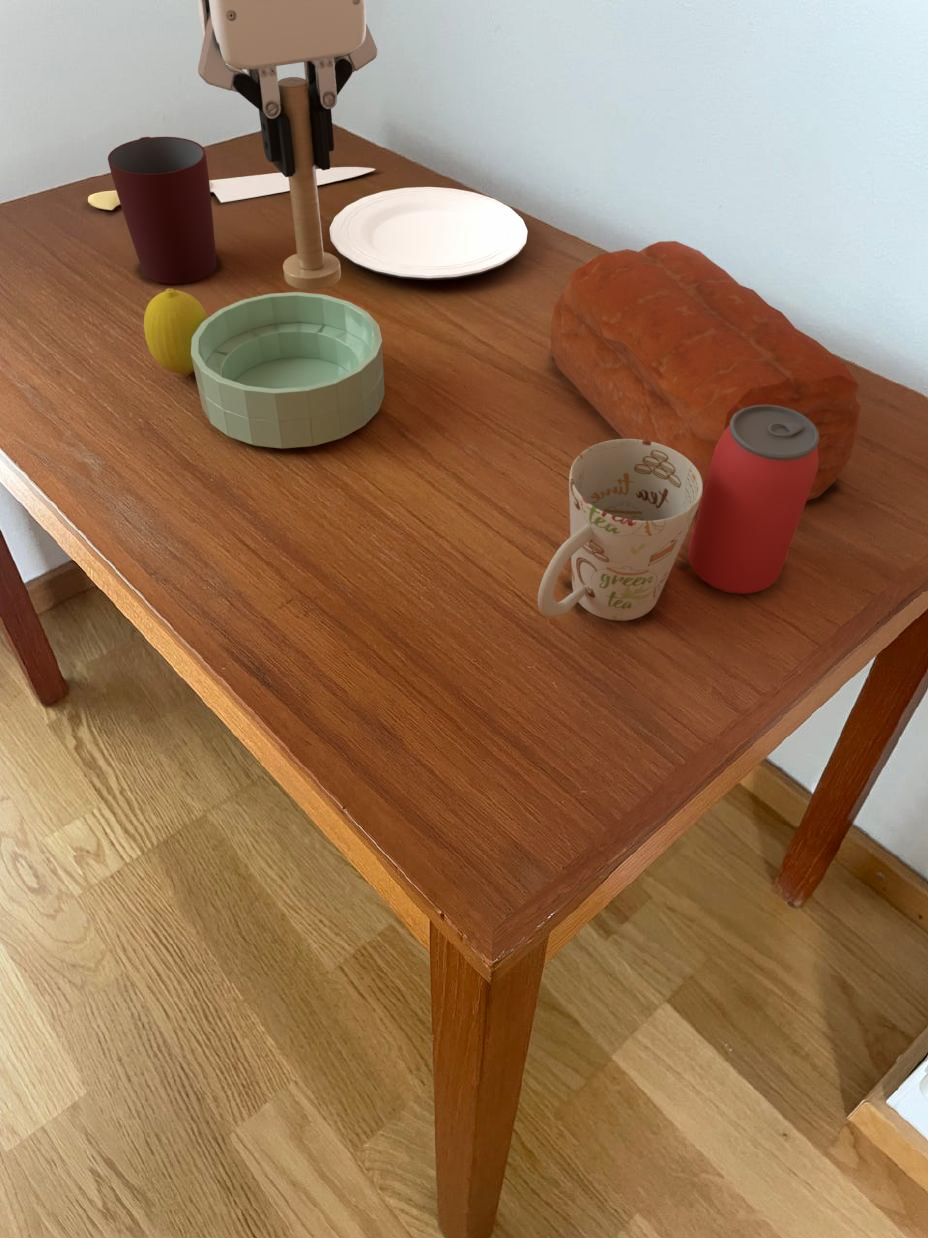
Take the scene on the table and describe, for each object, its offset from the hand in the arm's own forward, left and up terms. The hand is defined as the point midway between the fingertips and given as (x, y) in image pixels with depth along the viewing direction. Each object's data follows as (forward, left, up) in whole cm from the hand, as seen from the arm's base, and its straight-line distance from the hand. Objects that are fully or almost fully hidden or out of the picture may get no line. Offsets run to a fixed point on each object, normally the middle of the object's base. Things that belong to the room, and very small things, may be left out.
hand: (300, 164), depth 69 cm
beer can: (+18, -33, -20) cm, 43 cm away
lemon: (-10, +8, -20) cm, 23 cm away
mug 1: (-5, +29, -20) cm, 35 cm away
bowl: (-3, 0, -19) cm, 20 cm away
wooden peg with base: (0, 0, -9) cm, 9 cm away
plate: (+20, +21, -20) cm, 35 cm away
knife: (+6, +42, -20) cm, 47 cm away
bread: (+26, -17, -20) cm, 37 cm away
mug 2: (+7, -32, -20) cm, 38 cm away
